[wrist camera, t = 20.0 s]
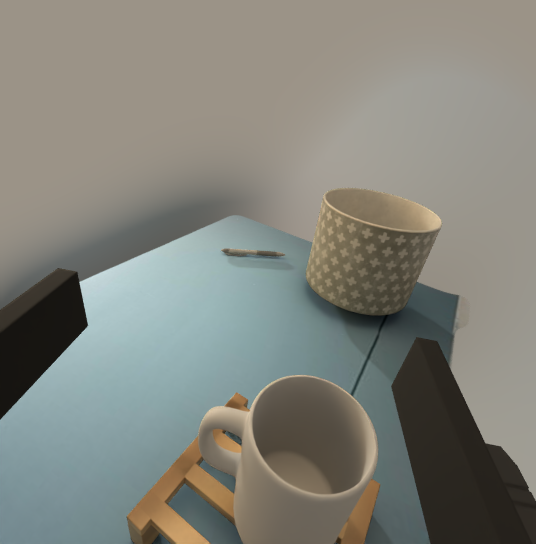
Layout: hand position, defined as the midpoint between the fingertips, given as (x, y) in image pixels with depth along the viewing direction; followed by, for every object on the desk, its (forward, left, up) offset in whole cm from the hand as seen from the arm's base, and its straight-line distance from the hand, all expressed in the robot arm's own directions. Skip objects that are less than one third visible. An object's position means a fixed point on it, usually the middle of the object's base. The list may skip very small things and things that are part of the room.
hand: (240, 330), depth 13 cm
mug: (+3, +4, -21) cm, 22 cm away
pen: (-14, +50, -25) cm, 58 cm away
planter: (+7, +45, -25) cm, 52 cm away
